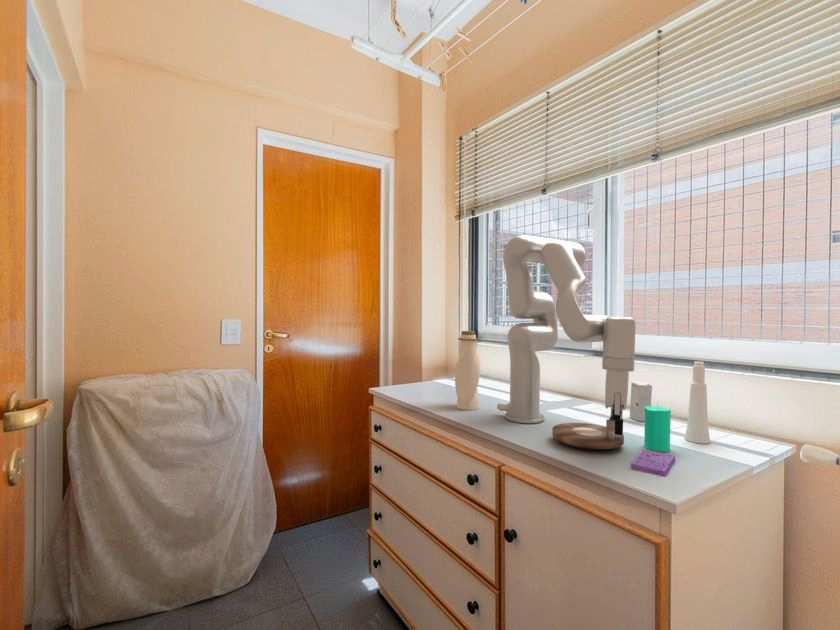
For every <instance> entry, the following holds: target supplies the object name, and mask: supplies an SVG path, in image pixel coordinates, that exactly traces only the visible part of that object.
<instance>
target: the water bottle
mask: <svg viewBox="0 0 840 630" xmlns="http://www.w3.org/2000/svg"><path fill="white" fill-rule="evenodd" d="M457 340H458V341H460V342H459V358H458V359H457V362H456V365H455V370H454V384H455V386H454V387H455V391H456V397H457V400H456V401H457V402H456V408H457V409H458V408H459V410H461V409H462V410H461V411H475V410H478V409H479V392H478V387H479V381H480V376H481V372H480V371H481V362H480V356H479V353H478V350H477V349H478V338H477V336H476V331H475V330H461V334H460V337H458V338H457Z"/></svg>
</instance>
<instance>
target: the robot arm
mask: <svg viewBox="0 0 840 630" xmlns="http://www.w3.org/2000/svg"><path fill="white" fill-rule="evenodd" d="M586 255H587V254H586V250H585V249H584V247H583V246H582V244H580V243H579V242H575V241H568V240H561V239H555V238H548V237H542V236H536V235H516V236H514V237H511V239H509V240H508V242H507V243H506V245H505V248H504V251H503V255H502V256H503V257H502V258H503V259H502V260H503V266H504V270H505V274H506V281H507V293H508V305H509V311H510V314H511V315H512V317H514V318H516V319H519V320H532V322H522V323H521V322H520V323H517V324H516V323H515V324H514V325H512V326H511V327H510V328H509V330H508V332H507V338H506V339H507V344H508V345H507V346H508V351H509V359H510V360H509V363H510V364H509V366H510V367H509V372H510V373H509V403H506V404H505V403H504V404H503V403H497V405H496V408H497V410H499V411H503V412H505V413H504V418H505V419H506V420H508V421H510V422H514V423H519V424H520V423H521V424H540V423H542V422H544V421H545V416H544V414H542V413H540V403H541V402H540V400H541V399H540V398H541V397H540V393H541V392H540V391H541V389H540V388H541V376H540V375H541V366H540V361H539V358H538V356H537V353H536V352H544V351H545V352H546V351H551V350H552V349H554V347H555V346H556V345H557V343H558V338H559V337H558V335H559V334H558V332H559V331H558V323H557V321H559V323H560V325H561V327H562V330H563V331H564V333H565V334H566V336H567V337H568V338H569V340H572V341H573V342H576V343H600V342H602V359H601V360H602V362H601V364H602V365H601V367H602V368H601V369H603V370H606V372H605V382H604V383H605V386H604V387H605V388H604V393H605V394H604V408H605V409H608V408H610V416H609V419H611V420H615V434H616V435H624V429H623V428H624V418H623V412H624V411H626V409H627V406H628V405H627V404H628V403H627V402H628V394H629V381H630V380H629V378H630V377H629V376H630V375H629V374H630V373H631V372H635V354H636V353H635V351H636V345H635V344H636V320H635V319H634V318H633V317H631V316H630V317H629V316H610V315H604V314H583V312H582V310H581V308H580V306H579V304H578V302H577V298H576V293H578V292H579V291H580V290H582V289H583V288H584V287H585V285H586V282H587V278H586V276H585V275H584V274H585V273H583V271H582V269H581V268H582V266H583V265H584V264H585V261H586ZM527 263H532V264H533V263H536V264H543V265H544V267H545V269H546V271H547V273H548V275H549V277H550V278H551V281H552V283H553V285H554V286H555V287H554V288H556V291H557V294H556V297H555V301H554V299H553V297H552V296H551V295H550V294H549V293H548V292H546V291H542V290H541V291H540V290H535V285H534V284H535V283H534V276H533V273H532V271H531V269H530V268H529V266H528V265H527ZM557 319H558V320H557Z"/></svg>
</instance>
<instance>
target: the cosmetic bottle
mask: <svg viewBox="0 0 840 630" xmlns="http://www.w3.org/2000/svg"><path fill="white" fill-rule="evenodd" d="M693 364H694V365H692V381H691V382H690V387H689V402H688V411H687V412H688V414H687V415H688V416H687V422H686V423H687V425H686V430H685V435H684V439H685V440H686V441H688V442H690V443H695V444H700V445H706V444H710V443H711V438H710V430H709V419H708V416H709V415H708V391H707V389H708V388H707V383H706V382H705V379H706V378H705V377H706V370H705V369H706V366H705V365H704V361H694V362H693Z"/></svg>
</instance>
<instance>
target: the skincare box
mask: <svg viewBox="0 0 840 630" xmlns="http://www.w3.org/2000/svg"><path fill="white" fill-rule="evenodd" d="M630 383H631V384H630V385H631V386H630V405H629V406H630V407H629V418H631V419H632V420H634V419H635V420H634V421H636V420H637V421H636V422H639V421H645V407H646V406H652V394H653V393H652V391H653V385H651V384H649V383H647V382H645V381H631V382H630Z"/></svg>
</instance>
